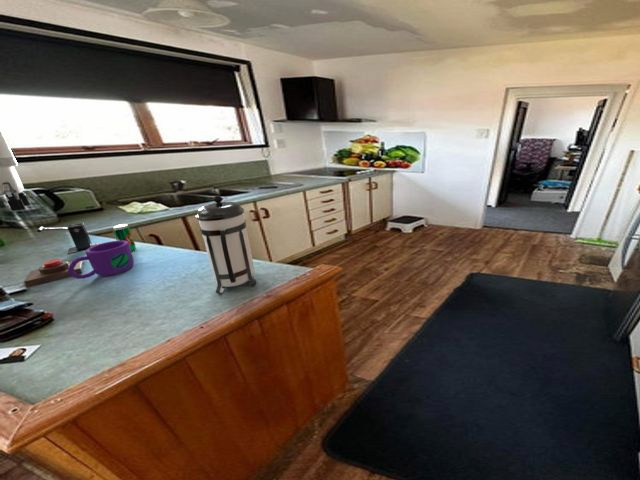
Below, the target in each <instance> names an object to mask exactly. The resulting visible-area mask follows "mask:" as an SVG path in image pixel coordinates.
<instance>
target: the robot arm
mask: <svg viewBox="0 0 640 480" xmlns="http://www.w3.org/2000/svg"><path fill="white" fill-rule="evenodd" d="M15 167H19V165H18V162H17V160H16V158H15V156H14V153H13V152H12V149H11V147H10V145H9V142H8V141H7V138H6V136H5V134H4V132H3V131H2V130H1V129H0V196H5V199H6V202H7V204H8V206H9V208H10V210H11V211H13V212H16V211H23V210H26V206H30V205H31V203H30V201H29V199H28V196H27V195H26V193H25V192H24V191H25V187H24V185H23V182H22V180H21V178H20V176H19V173H18V172H17V170H16V168H15Z"/></svg>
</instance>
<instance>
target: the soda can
mask: <svg viewBox="0 0 640 480" xmlns="http://www.w3.org/2000/svg"><path fill="white" fill-rule="evenodd" d="M112 228H113V229H112V232H113V235H114V237H115V241H127V242H128V243H129V246H130V249H131V252H132V253H134V252H136V251H135V250H137V245H136V243H135V240H134V237H133V235H132V231H131V228H130V226H128V224H126V223H122V224H118V225H117V224H116V225H114V226H113V227H112ZM133 251H134V252H133Z"/></svg>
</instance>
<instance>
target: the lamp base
mask: <svg viewBox="0 0 640 480" xmlns="http://www.w3.org/2000/svg"><path fill="white" fill-rule="evenodd" d="M61 262H62V264H61V265H58V266H55V267H51V268H45V266H44V264H43V265H42V266H39V267H38V268H36V269H32V270H30V271H29V273H28V274H27V276H26V278H25V279H24V284H25V286H26V288H29V287H34V286H37V285H42V284H45V283H50V282H52V281H53V282H54V281H57V280H61V279H66V278H69V277H72V276H71V275H70V274H69V273H68V267H69V265H70V264H71V262H72V261H68V260H61ZM84 269H85V261H84V260H82V261H79V262H78V263H77V264H76V266H75V268H74V272H76V273H77V274H79V275H83V273H84Z"/></svg>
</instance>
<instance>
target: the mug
mask: <svg viewBox="0 0 640 480" xmlns="http://www.w3.org/2000/svg"><path fill="white" fill-rule="evenodd" d="M84 252H85V255H84V256H79V257H78V256H77V257H76V258H74V259H73V260H71V261H70V262H71V264H70V265H69V267H68V273H69V274H70V275H71V276H70V277H72V278H74V279H77V280H82V279H88V278H91V277H93V276H94V275H97V276H100V277H109V276H115V275H118V274H122V273H125V272H126V271H128V270H130V269H132V267H133V266H134V264H135V260H134V256H133V252H131V249H130V246H129V243H128V242H127V241H117V240H112V241H106V242H103V243H102V242H101V244H98V245H95V246H93V247H90V248H88V249H87V250H85V251H84ZM82 260H83V261H89V264H90V266H91V268H92V269H93V270H91V271H90V272H88V273H84V274H77V273H76V272H74V268H75V266H76V264H77V263H78V262H79V261H82Z"/></svg>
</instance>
